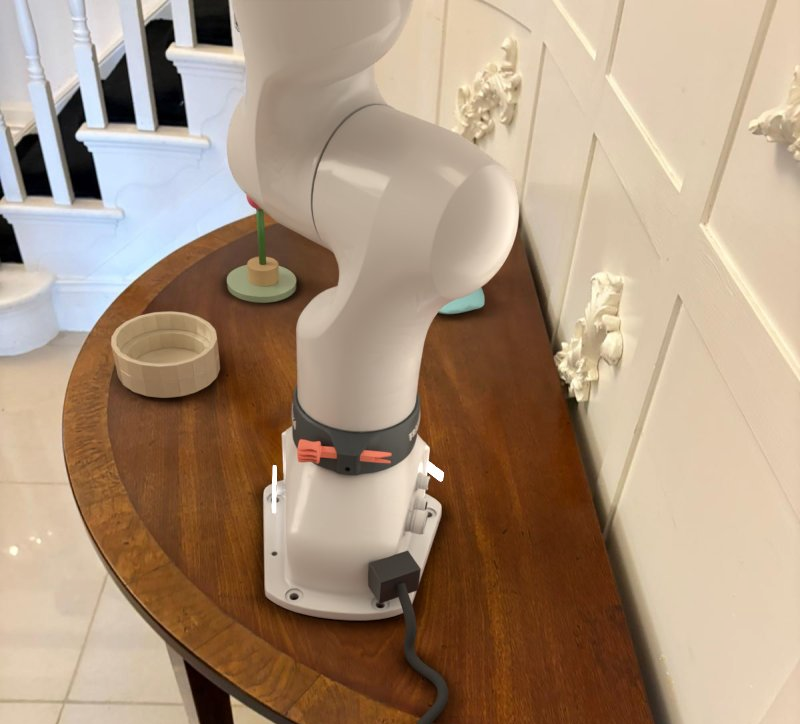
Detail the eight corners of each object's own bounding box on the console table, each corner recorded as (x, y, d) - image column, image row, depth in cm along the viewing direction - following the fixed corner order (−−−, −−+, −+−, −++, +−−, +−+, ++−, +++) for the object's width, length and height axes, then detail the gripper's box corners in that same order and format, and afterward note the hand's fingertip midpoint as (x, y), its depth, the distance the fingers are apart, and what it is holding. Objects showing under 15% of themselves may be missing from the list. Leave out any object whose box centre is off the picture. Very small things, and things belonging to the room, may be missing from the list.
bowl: (207, 406, 94) (203, 370, 90) (105, 396, 93) (96, 360, 90) (229, 351, 102) (226, 316, 99) (135, 342, 102) (129, 307, 99)
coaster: (290, 306, 111) (290, 299, 111) (220, 299, 111) (219, 292, 111) (301, 272, 118) (301, 266, 118) (235, 266, 118) (234, 260, 118)
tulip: (275, 287, 113) (271, 181, 102) (245, 284, 113) (237, 177, 102) (281, 273, 116) (277, 168, 105) (251, 270, 116) (244, 165, 105)
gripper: (198, -124, 89) (210, 18, 99) (222, -94, 76) (233, 67, 85) (254, -121, 91) (260, 19, 101) (287, -91, 77) (291, 67, 87)
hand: (248, 41), depth 93 cm, fingers open, 8 cm apart
